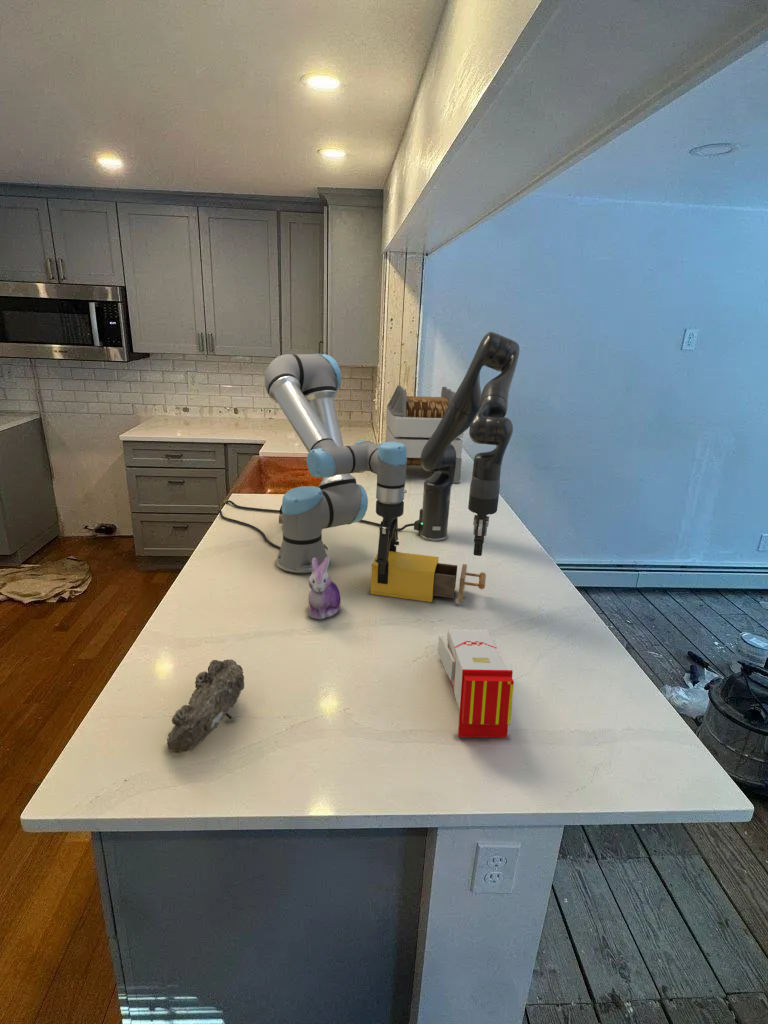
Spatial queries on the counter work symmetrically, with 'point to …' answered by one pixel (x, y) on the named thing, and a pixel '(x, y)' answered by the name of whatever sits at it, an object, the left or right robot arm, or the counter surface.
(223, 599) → the counter surface
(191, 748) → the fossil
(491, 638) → the toy
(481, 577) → the drawer
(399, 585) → the cabinet
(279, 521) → the figurine character
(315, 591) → the figurine
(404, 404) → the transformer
